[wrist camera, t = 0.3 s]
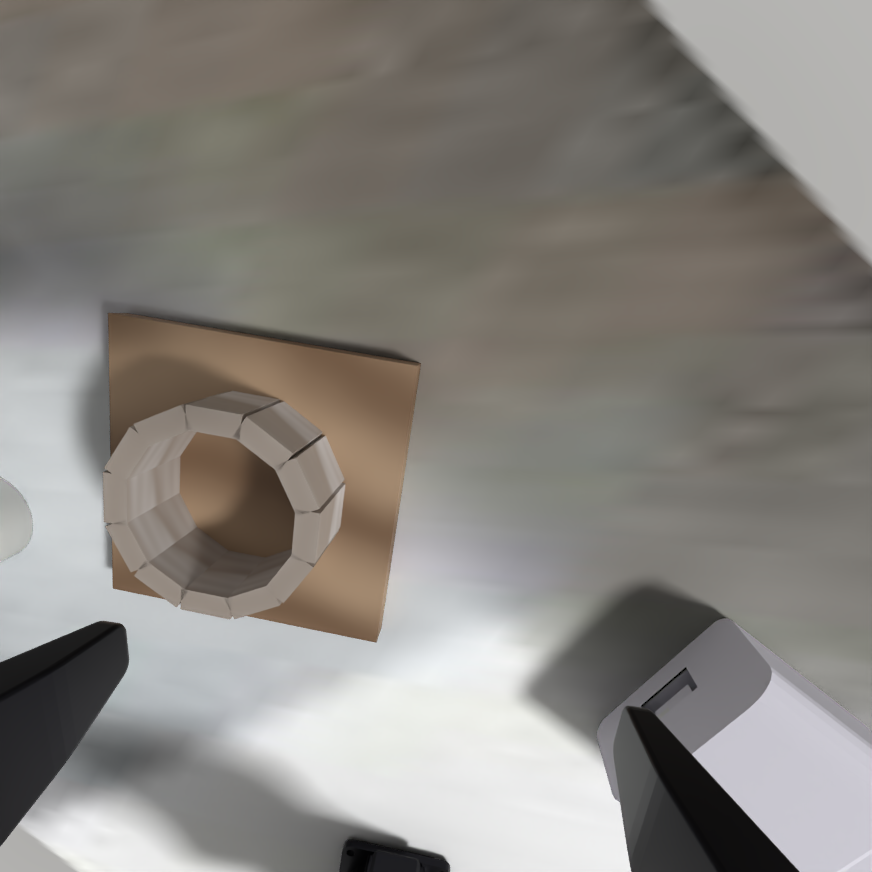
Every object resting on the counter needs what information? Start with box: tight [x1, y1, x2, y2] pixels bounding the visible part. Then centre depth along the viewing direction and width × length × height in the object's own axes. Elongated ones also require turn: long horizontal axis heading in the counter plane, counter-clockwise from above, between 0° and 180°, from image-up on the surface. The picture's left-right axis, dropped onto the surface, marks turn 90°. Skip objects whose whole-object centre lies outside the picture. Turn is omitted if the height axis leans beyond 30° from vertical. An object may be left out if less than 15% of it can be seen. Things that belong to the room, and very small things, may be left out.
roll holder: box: [103, 313, 421, 642], centre depth 21 cm, size 14×14×5 cm
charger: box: [597, 618, 872, 872], centre depth 23 cm, size 5×9×15 cm
